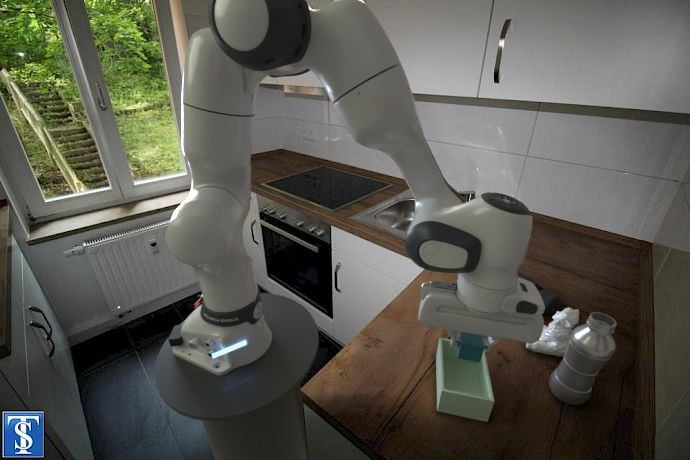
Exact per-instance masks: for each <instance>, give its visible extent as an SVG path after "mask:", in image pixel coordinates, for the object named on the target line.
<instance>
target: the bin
mask: <svg viewBox="0 0 690 460" xmlns="http://www.w3.org/2000/svg"><path fill="white" fill-rule="evenodd" d="M435 370H436V371H435V373H436V378H435V379H436V410H437V411H436V412H440V413H443V414H448V415H453V416H458V417H463V418H467V419H470V420H471V419H472V420H476V421H481V422H484V423H485V422H486V423H488V422H489V418H490V416H491V413H492V410H493V407H494V404H495V402H496V401H495V397H494V391H493V386H492V381H491V377H490V371H489V366H488V361H487V356H486V352H484V351H483V354H482V358H481V362H480V363H479V362H474V361H468V360H463V359H458V356H457V347H455V346H451V338H450V339H449V338H445V337H444V338H443V337H439V339H438V344H437V350H436V355H435Z"/></svg>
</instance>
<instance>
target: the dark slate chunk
mask: <svg viewBox="0 0 690 460" xmlns="http://www.w3.org/2000/svg"><path fill="white" fill-rule="evenodd" d="M518 277H520V278H522V279H525V280H527V281H530V282H532V283H533V284H534V285H535V286H536V288H537V289H538V291H539V293H540V295H541V297H542V299H543V302H544V305H545V311H544V313H543V314H542V316H543V317H545V316H548V315H551V314H553V313H556V312H557V311H558V309H559V308H560V307H561V306H563V305H564V304H565V302H564V301H563V299H562V298H561V297H560V296H559V295H557V294H555V293H554V292H552V291H550V290H548V289H547V288H545V287H544V286H541V285H539V283H538V282H536V281H535V280H533V279H531V278H530V277H528V276H527V275H523V274H521V273H519V272H518Z"/></svg>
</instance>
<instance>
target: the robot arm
mask: <svg viewBox="0 0 690 460" xmlns="http://www.w3.org/2000/svg"><path fill="white" fill-rule="evenodd" d="M207 10H208V11H207V16H208V22H209V23H208V24H209V27H204V28H201V29H198V30H196V31H195V32H193V34H192V35H191V37H190V38H189V40H188V44H187V48H186V53H185V59H184V64H183V72H182V73H183V74H182V84H181V151H182V154H183V156H184V157H185V158H186V159H187V163H188V167H189V170H190V176H191V188H190V191H189V193H188V196H187V197H186V198H185V199H184V200H183V201H182V202H181V203H180V205H178V207H177V208H176V209H175V210H174V211H173V213H172V215H171V217H170V220H169V221H168V225H167V228H166V231H165V235H164V237H165V239H164V240H165V244H166V247H167V249H168V250H169V252H170V253H171V255H172V256H173V257H174V258H176V259H177V260H178V261H180V262H181V263H184V264H186V265H188V266H191V268H192V269H193V271H194V273H195V274H196V277H197V280H198V284H199V288H200V290H201V295H200V298H199V299H198V300H197V301H196V302H195V303H194V304H193V306H194V310H193V311H192V312H191V313H190V314H189V315H188V316H187V317H186V319H185V320H184V321H185V322H184V321H183V322H184V323H183V325H180V324H178V325H174V326H173V328H172V330H171V333H170V334H169V335H168V337H167V338H168V341H169V343H170V346H171V347H173V349H172V351H173V354H174V355H176V356H178V357H180V358H182V359H184V360H187V361H189V362H191V363H193V364H195V365H197V366H199V367H201V368H203V369H205V370H207V371H210V372H212V373H214V374H216V375H218V376H222V375H224V374H226V373H228V372H230V371H231V370H233V369H235V368H237V367H241V366H244V365H247V364H249V363H252V362H254V361H255V360H257V359H258V358H260V357H261V356H262V355H263V354H264V353H265V352H266V351H267V350H268V348H269V347H270V344H271V342H272V332H271V330H270V328H269V327H268V325H267V323H266V320H265V318H264V315H263V312H262V300H261V294H260V293H261V290H260V287H259V286H258V283H257V277H256V271H255V265H254V264H255V263H254V260H253V258H252V257H251V256H250V255H249V253H248V252H247V250H246V248H245V245H244V239H243V233H244V232H243V231H244V224H245V222H246V220H247V217H248V215H249V213H250V210H251V198H252V195H251V194H252V164H251V162H252V150H253V140H254V129H255V119H256V108H257V107H256V106H257V96H258V90H259V87H260V85H261V83H262V81H263V80H264V79H265V78H267V77H268V76H269V77H270V78H275V79H276V78H284V77H296V76H297V77H298V76H301V75H305V74H306V73H309V72H310V71H311V72H312V73H313V74H314V75H315V76H316V77H317V79H318V80H319V81H320V83H321V84H322V86H323V88H324V90H325V93H326V94H327V96H328V98H329V100H330V102H331V104H332V105H333V107H334V110H335V112H336V115H337V116H338V118H339V120H340V122H341V123H342V125H343V126H344V128H345V129H346V131H347V132H348V134H350V136H351V137H352V138H353V140H354V141H355V142H356V143H357V144H359V145H361V146H363V147H365V148H368V149H372V150H377V151H379V152H382V153H384V154H386V155H387V156H389V158H391V159H392V161H393V162H395V165H396V166H397V168H398V169H399V171H400V173H401V176H402V177H403V179H404V181H405V183H406V185H407V187H408V188H409V190H410V192H411V194H412V196H413V200H414V215H413V217H412V220H411V222H410V225H409V228H408V230H407V233H406V236H405V240H404V247H405V251H406V253H407V256H408V258H409V259H410V260H411V261H412V263H414V264H415V265H416V266H417V267H420V268H421V269H424V270H426V271H429V272H435V273H442V274H443V273H444V274H458V275H457V281H456V283H455V282H448V281H439V280H429V281H428V282H424V283H422V284H421V285H420V287H419V294H418V295H419V298H420V302H419V307H418V315H417V317H418V318H417V321H418V322H419V323H420V325H421V326H423V327H430V328H434V329H440V330H441V329H442V330H445V331H446V330H447V334H448V336H449V338H450V340H451V346H455V347H459V344H460V336H459V334H458V333H457V332H464V333H470V334H476V335H482V337H483V336H484V337H486V338H484V337H483V342H484V352H485V353H490V352H491V348H492V347H494V346H495V345H497V344H499V343H500V342H501V340H506V341H507V340H508V341H513V342H519V343H525V344H526V343H534V342H536V341H538V340H539V339H540V337H541V334H542V330H543V325H545V320H544V316H542V314H543V313H544V311H545V305H544V302H543V299H542V297H541V295H540V293H539V291H538V289H537V288H536V286H535V285H534V284H533V283H532V282H530V281H527V280H525V279H522V278H520V277H518V273H519V269H520V267H521V266H522V264H523V263H524V262H525V259H526V256H527V253H528V249H529V245H530V242H531V237H532V231H533V224H534V223H533V220H534V219H533V215H532V213H531V210H529V208H528V206H527V205H526V204H525V203H523V202H522V201H521V200H518V198H515V197H513V196H510V195H509V194H508V195H507V194H504V193H500V192H491V191H489V192H483V193H481V194H480V195H478V196H477V197H475V198H473V199H471V200H468V201H467V200H466V198H464V197H463V195H462V194H461V193H460V192H458V191H457V190H456V189H455V188H454V187H453V186H451V185H450V183H448V181H447V180H446V178H445V176H444V175H443V172H442V170H441V169H440V166H439V165H438V163H437V161H436V159H435V158H436V157H434V154H433V152H432V150H431V148H430V146H429V144H428V142H427V139H426V137H425V134H424V130H423V127H422V124H421V120H420V117H419V112H418V108H417V105H416V101H415V97H414V94H413V91H412V88H411V85H410V81H409V80H408V76H407V74H406V72H405V70H404V67H403V65H402V62H401V61H400V58H399V55H398V54H397V51H396V49H395V47H394V45H393V44H392V42H391V39H390V38H389V37H388V34H387V33H386V31H385V28H383V26H382V24H381V23H380V20H378V18H377V16H376V15H375V13H374V12H373V10H372V9H371V8H370V7H369V5H368V3H366V2H365V1H363V0H333V1H330V2H329V3H327V4H326V5H324V6H323V7H321V8H318V9H317V8H316V9H314V7H313V6H311V5H310V4H309V3H308V1H307V0H208V7H207ZM217 367H218V368H217Z"/></svg>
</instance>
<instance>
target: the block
mask: <svg viewBox="0 0 690 460" xmlns="http://www.w3.org/2000/svg"><path fill="white" fill-rule="evenodd" d="M457 332H458V331H457ZM457 334H459V336H460V344H459V347H457V356H458V359H463V360H468V361H474V362H479V363H480V362H481V358H482V354H483V351H484V342H483V338H484V337H483V336H482V335H476V334H470V333H464V332H458V333H457Z"/></svg>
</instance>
